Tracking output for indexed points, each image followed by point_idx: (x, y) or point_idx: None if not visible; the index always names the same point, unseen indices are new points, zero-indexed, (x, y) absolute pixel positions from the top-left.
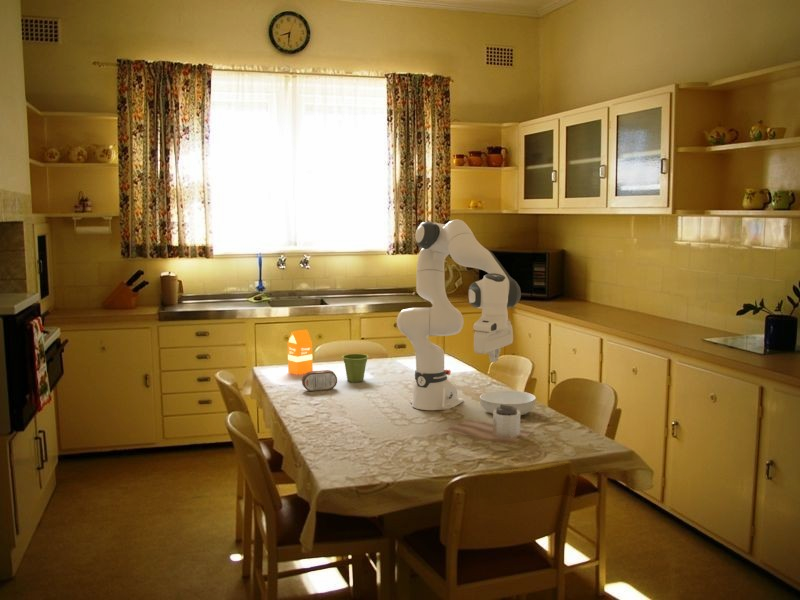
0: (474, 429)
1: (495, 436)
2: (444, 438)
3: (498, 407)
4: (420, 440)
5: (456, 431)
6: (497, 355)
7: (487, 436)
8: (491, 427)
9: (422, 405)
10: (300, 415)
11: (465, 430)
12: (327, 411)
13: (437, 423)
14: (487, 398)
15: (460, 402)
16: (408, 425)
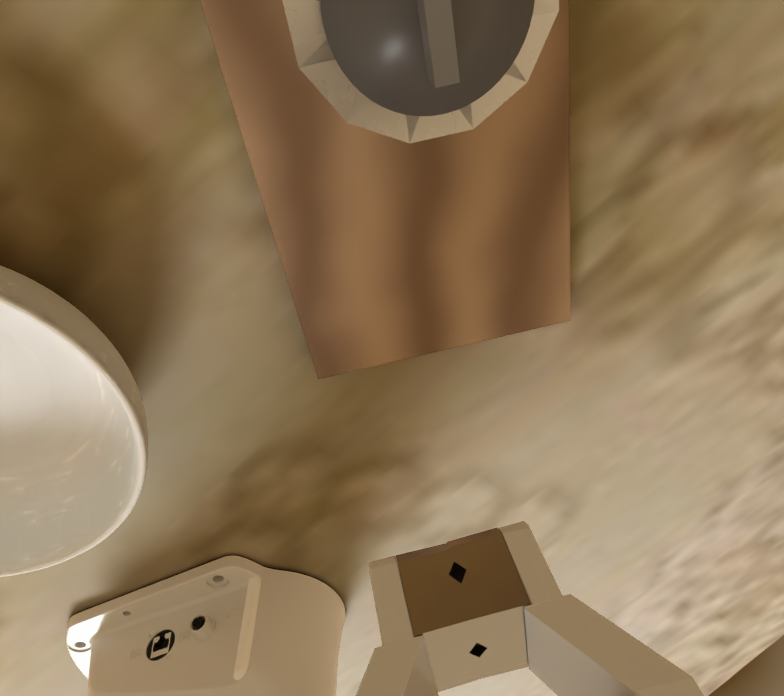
0: (447, 226)
1: None
2: (615, 258)
3: (445, 103)
4: (707, 306)
5: (548, 263)
6: (417, 658)
7: None
8: (334, 186)
9: (336, 615)
10: None
11: (500, 245)
12: None
13: (436, 444)
14: (18, 536)
15: (107, 604)
16: (548, 482)
